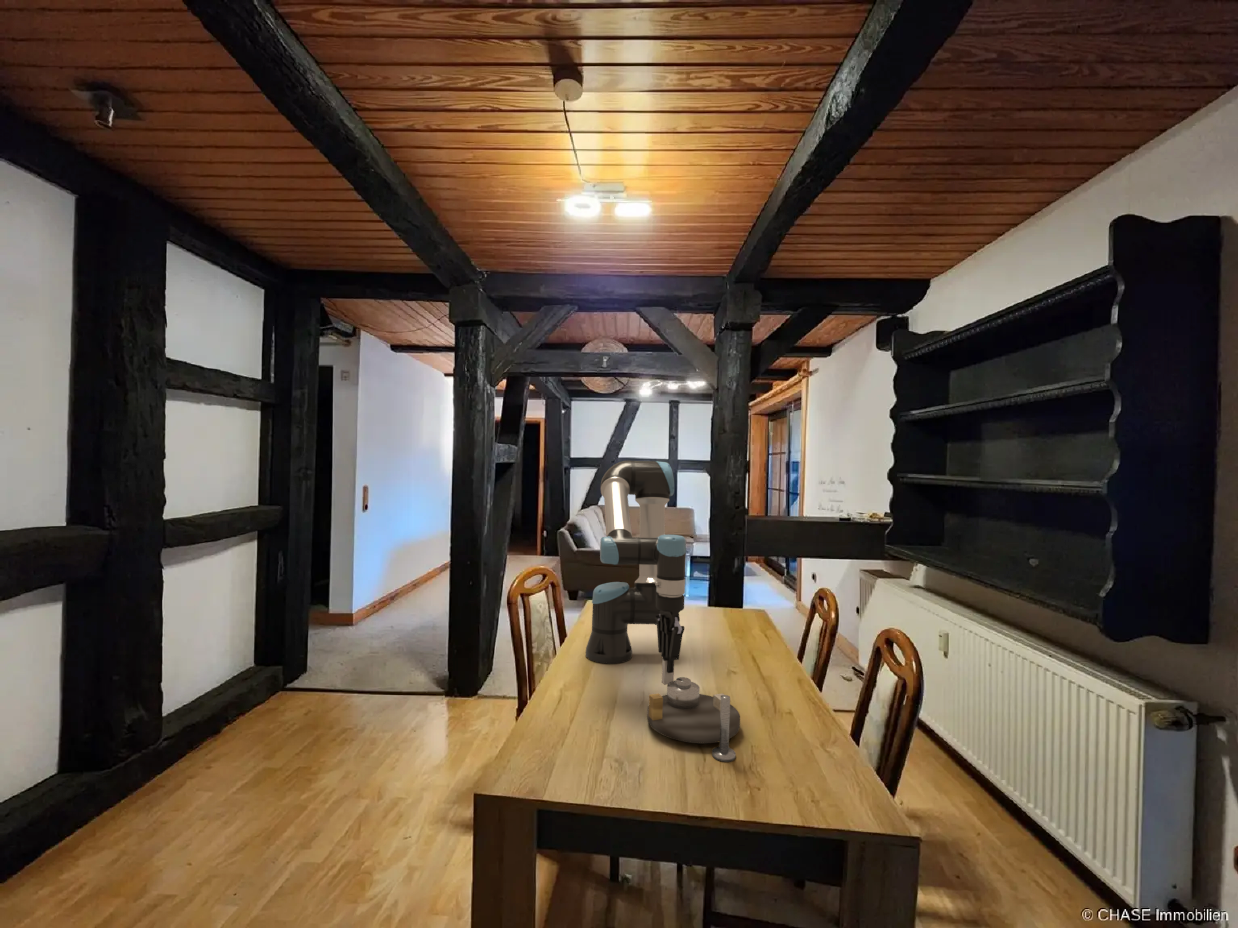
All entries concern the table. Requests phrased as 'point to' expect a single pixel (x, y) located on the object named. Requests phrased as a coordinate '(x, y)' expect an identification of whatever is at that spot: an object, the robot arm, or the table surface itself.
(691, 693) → the cover
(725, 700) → the dial post
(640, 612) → the robot arm
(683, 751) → the table surface
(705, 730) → the turntable
